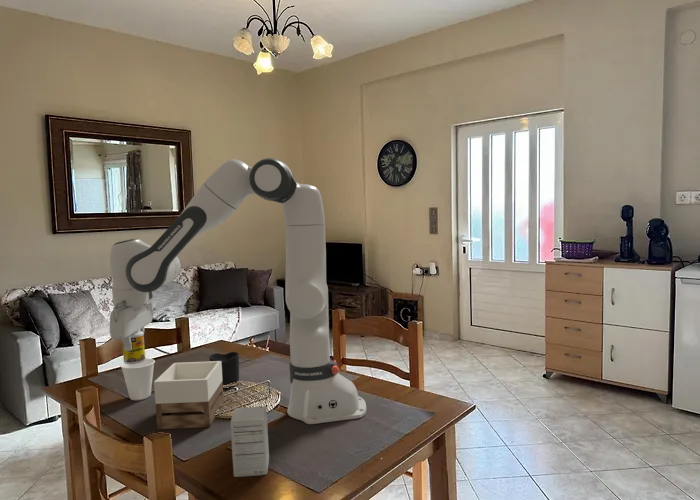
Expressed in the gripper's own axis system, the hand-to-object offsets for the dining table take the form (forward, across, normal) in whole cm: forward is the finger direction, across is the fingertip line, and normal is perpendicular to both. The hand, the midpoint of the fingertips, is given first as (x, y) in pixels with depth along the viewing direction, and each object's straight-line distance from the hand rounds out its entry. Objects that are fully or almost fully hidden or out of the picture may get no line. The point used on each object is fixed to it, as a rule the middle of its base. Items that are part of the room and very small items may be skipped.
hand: (134, 346), depth 137 cm
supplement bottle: (+4, 0, 0) cm, 5 cm away
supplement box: (+21, -30, -37) cm, 52 cm away
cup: (+21, +16, +6) cm, 27 cm away
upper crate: (+14, 0, -15) cm, 20 cm away
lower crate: (+21, 0, -15) cm, 25 cm away
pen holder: (+21, +24, -19) cm, 37 cm away
